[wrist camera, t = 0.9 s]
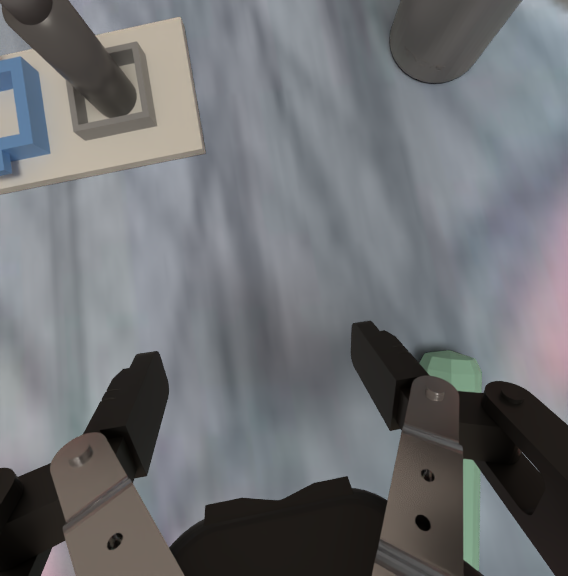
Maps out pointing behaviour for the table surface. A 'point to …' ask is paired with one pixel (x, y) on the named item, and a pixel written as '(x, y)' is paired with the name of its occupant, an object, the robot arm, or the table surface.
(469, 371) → the green faceted rod
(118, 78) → the stepped grey cylinder
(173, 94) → the panel
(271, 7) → the table surface
